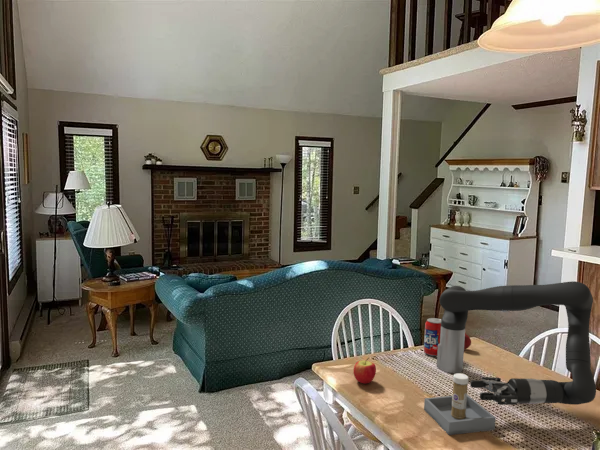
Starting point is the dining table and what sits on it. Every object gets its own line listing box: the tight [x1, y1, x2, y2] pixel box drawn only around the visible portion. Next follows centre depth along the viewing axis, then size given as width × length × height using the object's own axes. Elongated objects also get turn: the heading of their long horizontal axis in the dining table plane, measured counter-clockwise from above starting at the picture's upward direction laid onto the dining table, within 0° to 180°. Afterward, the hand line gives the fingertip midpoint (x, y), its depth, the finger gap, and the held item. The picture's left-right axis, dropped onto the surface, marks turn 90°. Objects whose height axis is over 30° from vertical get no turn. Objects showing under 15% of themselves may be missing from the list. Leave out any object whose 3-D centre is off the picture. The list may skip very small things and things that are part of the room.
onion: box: [464, 331, 472, 351], centre depth 215 cm, size 6×6×8 cm
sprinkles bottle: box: [451, 372, 469, 419], centre depth 154 cm, size 5×5×13 cm
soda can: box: [423, 317, 442, 357], centre depth 209 cm, size 8×8×15 cm
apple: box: [353, 357, 377, 384], centre depth 180 cm, size 8×8×10 cm
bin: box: [423, 394, 496, 436], centre depth 154 cm, size 16×16×4 cm
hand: (475, 389), depth 153 cm, fingers open, 8 cm apart
